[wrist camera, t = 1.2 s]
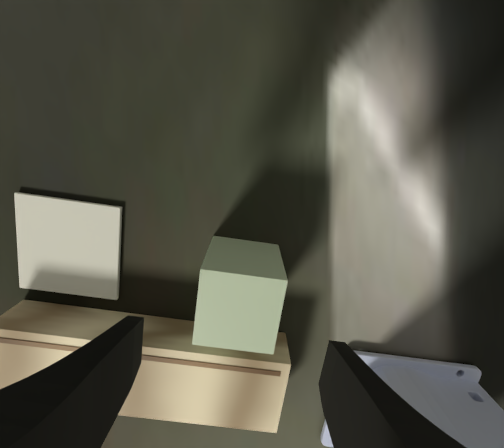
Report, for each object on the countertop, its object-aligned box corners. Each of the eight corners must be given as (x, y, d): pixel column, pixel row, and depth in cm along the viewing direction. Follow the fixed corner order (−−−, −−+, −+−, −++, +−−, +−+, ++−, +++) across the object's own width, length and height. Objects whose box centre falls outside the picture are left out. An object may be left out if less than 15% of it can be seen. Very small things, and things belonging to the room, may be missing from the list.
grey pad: (122, 206, 18) (120, 207, 18) (118, 297, 20) (116, 299, 19) (18, 192, 18) (14, 193, 18) (22, 285, 19) (19, 287, 19)
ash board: (285, 332, 20) (291, 365, 17) (272, 393, 22) (276, 433, 19) (23, 299, 20) (-16, 327, 17) (27, 364, 21) (-10, 401, 18)
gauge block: (278, 244, 19) (287, 280, 14) (267, 302, 20) (273, 354, 15) (213, 235, 19) (200, 269, 14) (206, 294, 20) (191, 344, 15)
